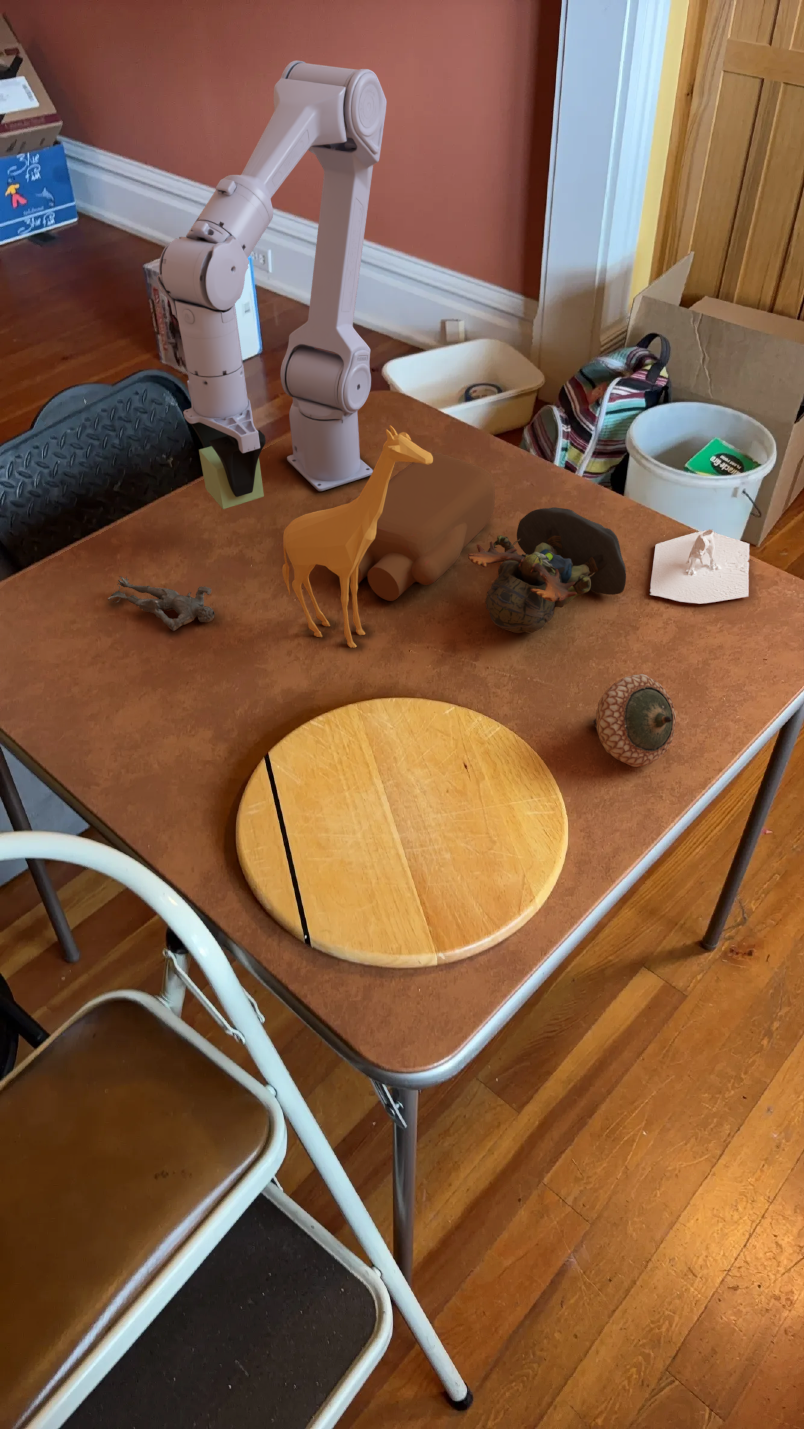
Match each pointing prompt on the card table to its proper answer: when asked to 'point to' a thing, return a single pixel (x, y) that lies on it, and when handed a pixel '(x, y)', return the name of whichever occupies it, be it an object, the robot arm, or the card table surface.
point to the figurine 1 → (169, 603)
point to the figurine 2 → (550, 567)
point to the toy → (426, 523)
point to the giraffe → (345, 533)
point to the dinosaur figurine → (701, 568)
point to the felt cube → (225, 481)
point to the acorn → (635, 720)
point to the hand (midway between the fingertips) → (233, 481)
